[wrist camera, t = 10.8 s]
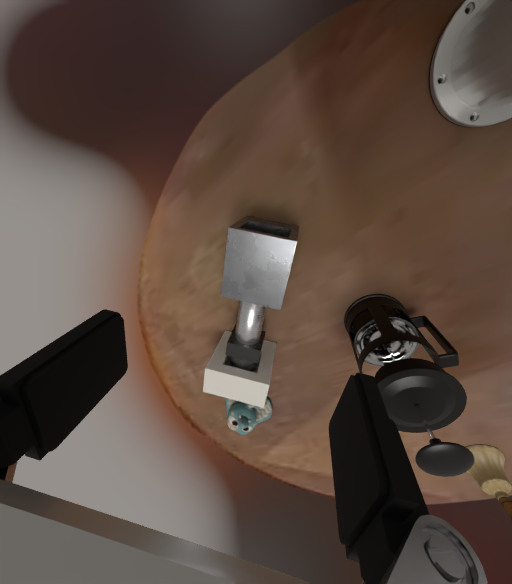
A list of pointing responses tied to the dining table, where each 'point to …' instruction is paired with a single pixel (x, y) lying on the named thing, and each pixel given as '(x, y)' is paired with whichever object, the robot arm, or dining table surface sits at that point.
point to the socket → (239, 375)
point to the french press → (412, 379)
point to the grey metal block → (258, 261)
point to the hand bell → (491, 473)
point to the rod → (247, 336)
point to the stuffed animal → (246, 415)
